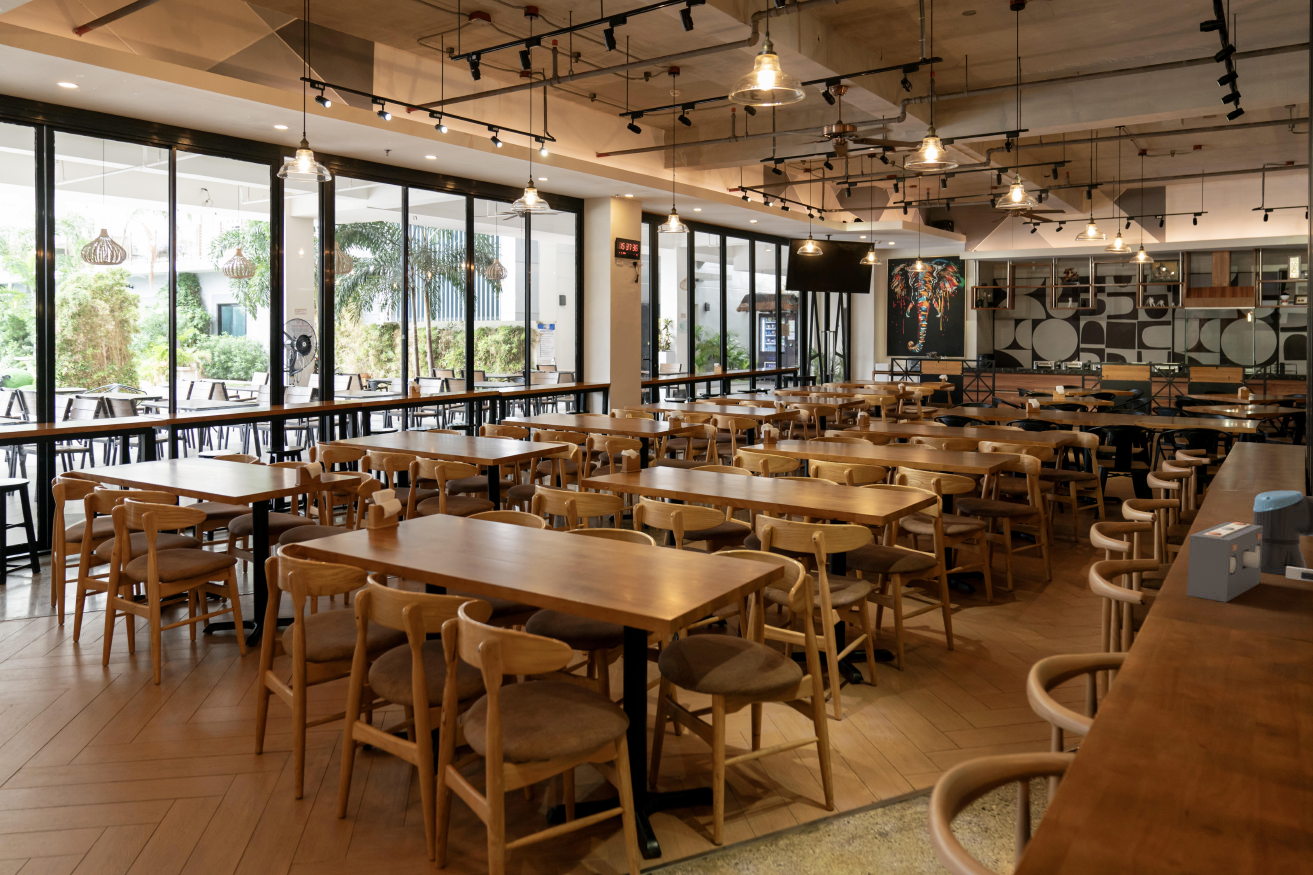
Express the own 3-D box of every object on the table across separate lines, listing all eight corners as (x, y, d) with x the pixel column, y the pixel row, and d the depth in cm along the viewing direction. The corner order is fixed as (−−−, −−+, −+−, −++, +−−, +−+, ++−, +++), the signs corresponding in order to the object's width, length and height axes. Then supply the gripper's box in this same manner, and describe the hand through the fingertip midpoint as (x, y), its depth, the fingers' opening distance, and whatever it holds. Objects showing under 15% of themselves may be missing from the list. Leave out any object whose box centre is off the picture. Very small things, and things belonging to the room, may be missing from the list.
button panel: (1223, 577, 255) (1225, 519, 254) (1261, 583, 248) (1264, 523, 247) (1187, 595, 235) (1190, 532, 234) (1227, 602, 228) (1230, 537, 227)
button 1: (1211, 568, 236) (1212, 553, 235) (1235, 571, 232) (1236, 556, 231) (1206, 570, 233) (1207, 555, 233) (1230, 573, 229) (1231, 558, 229)
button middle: (1235, 563, 241) (1236, 548, 241) (1259, 566, 237) (1260, 551, 237) (1231, 565, 239) (1231, 550, 238) (1255, 569, 234) (1255, 554, 234)
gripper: (1403, 610, 200) (1278, 591, 218) (1413, 600, 209) (1292, 582, 226) (1405, 577, 200) (1280, 560, 217) (1415, 568, 208) (1294, 553, 226)
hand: (1286, 571), depth 222 cm, fingers closed
